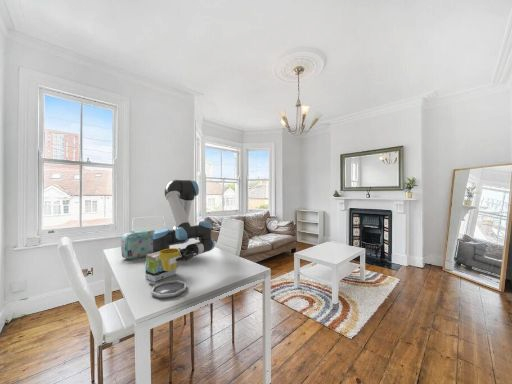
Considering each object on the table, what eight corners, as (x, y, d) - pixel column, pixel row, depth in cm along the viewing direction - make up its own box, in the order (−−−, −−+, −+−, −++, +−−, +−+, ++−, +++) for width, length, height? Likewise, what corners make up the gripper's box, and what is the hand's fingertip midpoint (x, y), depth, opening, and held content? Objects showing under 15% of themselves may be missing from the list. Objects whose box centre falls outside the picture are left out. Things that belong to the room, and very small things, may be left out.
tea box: (155, 282, 127) (154, 257, 127) (145, 278, 133) (144, 254, 132) (176, 274, 140) (176, 251, 140) (166, 270, 145) (166, 248, 145)
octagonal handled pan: (135, 290, 117) (135, 286, 117) (162, 279, 132) (162, 275, 132) (166, 302, 105) (166, 297, 105) (192, 288, 120) (192, 284, 120)
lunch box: (126, 262, 162) (126, 233, 162) (118, 259, 168) (118, 232, 167) (158, 253, 185) (158, 228, 185) (151, 251, 190) (151, 227, 190)
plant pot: (154, 270, 113) (154, 252, 113) (169, 264, 123) (169, 247, 123) (170, 273, 110) (170, 254, 110) (184, 267, 119) (184, 249, 119)
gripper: (208, 258, 127) (178, 271, 107) (181, 252, 138) (149, 263, 118) (208, 245, 127) (178, 256, 107) (181, 241, 138) (149, 249, 118)
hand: (163, 259), depth 113 cm, fingers closed on plant pot, 10 cm apart
